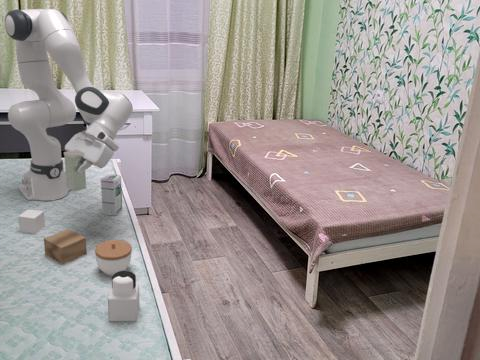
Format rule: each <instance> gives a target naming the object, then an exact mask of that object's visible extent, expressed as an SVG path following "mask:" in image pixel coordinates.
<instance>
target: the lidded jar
mask: <svg viewBox="0 0 480 360" xmlns="http://www.w3.org/2000/svg"><path fill="white" fill-rule="evenodd" d="M132 250H133V249H132V245H131V243H129V242H127V241H124V240H120V239H110V240H105V241H102V242H100V243H99V244H98V245H96V246H95V248H94V254H95V261H96V264H97V267H98V268H99V269H100V271H101V272H103V273H104V274H105V275H106V276H111V277H112V276H113V275H114V274H115V273H117V272H119V271H127V269H128V268H129V266H130V264H131V259H132Z"/></svg>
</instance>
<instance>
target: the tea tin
mask: <svg viewBox="0 0 480 360" xmlns="http://www.w3.org/2000/svg"><path fill="white" fill-rule="evenodd" d="M84 154H85V153H83V152H81V151H79V150H73V151H64V152H63V156H64V171H65V172H66V186H67V188H68V189H70V191H71V192H77V191H81V190H85V189H87V180H86V179H87V177H86V170H84V172H83V173H82V174H80V173H78V172H77V171H76V169H77V168H78V166H79V167H80V166H81V165H83V164H84V161H85V159H83V156H84Z"/></svg>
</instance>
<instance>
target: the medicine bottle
mask: <svg viewBox="0 0 480 360" xmlns="http://www.w3.org/2000/svg"><path fill="white" fill-rule="evenodd" d="M136 276H137V275H136V274H135V273H134V272H133V271H130V270H124V271H119V272H117V273H115V274H114V275H113V276H111V289H110V292H109V295H108V299H107V301H108V302H107V303H108V321H109V322H137V321H136V320H138V315H139V309H140V284H139V283H137V282H136V281H137V279H136V278H137V277H136Z"/></svg>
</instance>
